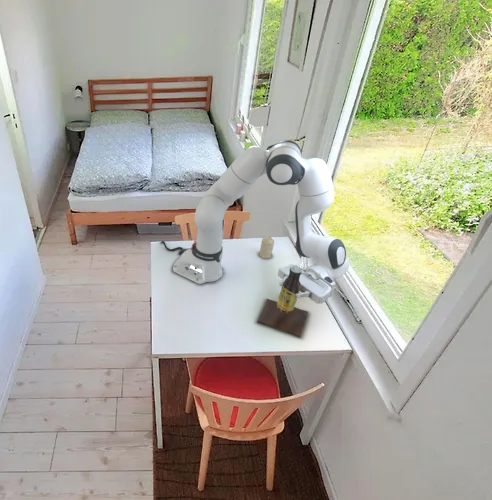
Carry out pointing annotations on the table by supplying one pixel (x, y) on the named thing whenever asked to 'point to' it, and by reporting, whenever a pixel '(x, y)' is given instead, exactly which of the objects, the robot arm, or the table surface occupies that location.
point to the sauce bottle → (289, 290)
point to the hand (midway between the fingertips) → (288, 290)
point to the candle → (266, 247)
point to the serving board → (283, 318)
